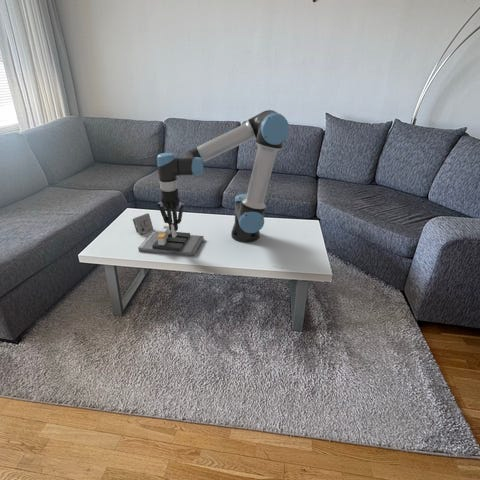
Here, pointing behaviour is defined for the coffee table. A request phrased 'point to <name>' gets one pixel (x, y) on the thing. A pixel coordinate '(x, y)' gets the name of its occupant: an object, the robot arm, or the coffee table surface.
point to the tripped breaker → (161, 239)
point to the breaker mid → (164, 232)
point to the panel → (183, 252)
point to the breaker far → (167, 228)
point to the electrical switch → (143, 223)
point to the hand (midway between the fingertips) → (174, 236)
